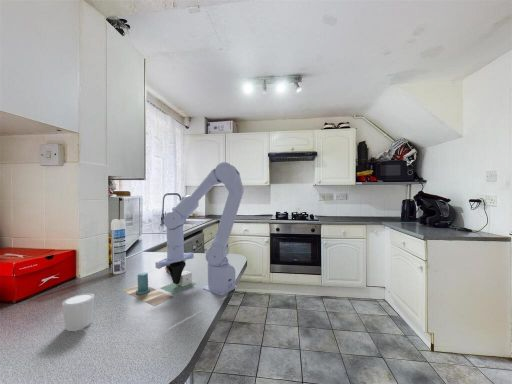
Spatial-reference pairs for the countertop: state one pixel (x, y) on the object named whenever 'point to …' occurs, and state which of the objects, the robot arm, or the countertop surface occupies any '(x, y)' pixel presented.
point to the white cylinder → (78, 311)
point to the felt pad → (176, 287)
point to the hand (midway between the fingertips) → (176, 283)
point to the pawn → (142, 284)
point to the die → (185, 278)
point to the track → (149, 295)
